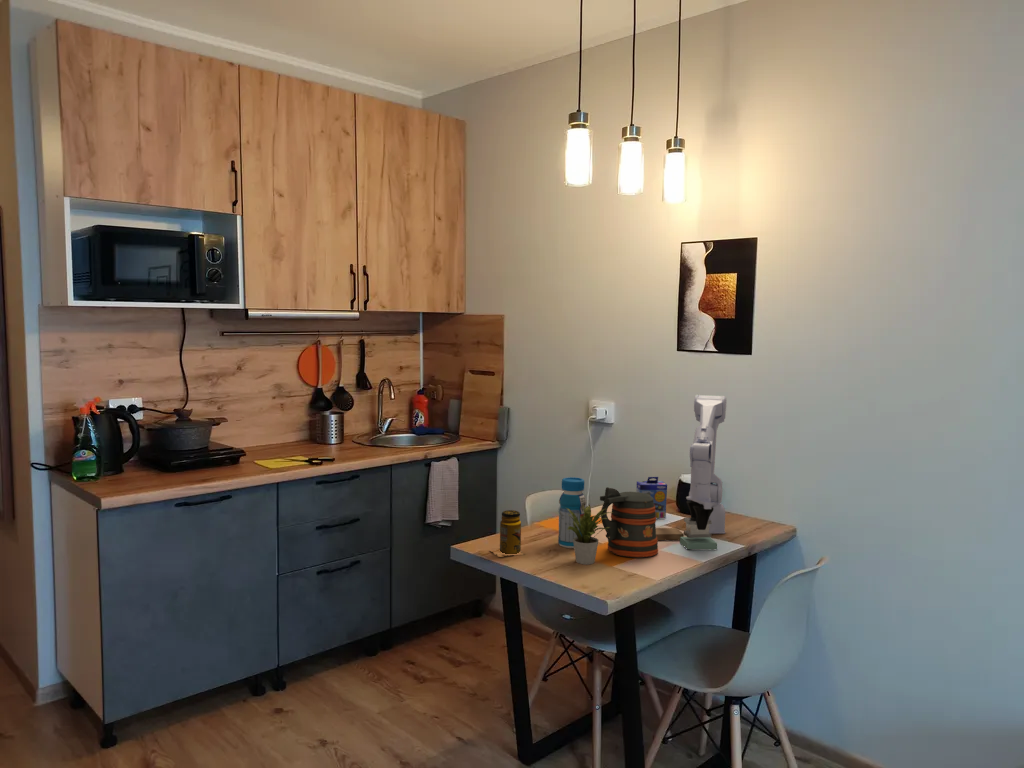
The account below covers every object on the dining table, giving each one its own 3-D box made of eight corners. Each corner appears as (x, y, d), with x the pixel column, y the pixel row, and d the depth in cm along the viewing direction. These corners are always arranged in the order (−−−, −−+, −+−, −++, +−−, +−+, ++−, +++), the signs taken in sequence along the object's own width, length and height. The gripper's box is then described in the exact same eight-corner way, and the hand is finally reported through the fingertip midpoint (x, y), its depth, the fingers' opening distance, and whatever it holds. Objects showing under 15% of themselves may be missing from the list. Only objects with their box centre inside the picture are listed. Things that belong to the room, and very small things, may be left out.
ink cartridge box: (638, 519, 255) (640, 477, 254) (634, 515, 260) (635, 474, 259) (666, 518, 256) (668, 477, 255) (662, 514, 261) (663, 474, 260)
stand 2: (708, 542, 228) (709, 536, 228) (717, 549, 221) (717, 543, 221) (680, 543, 227) (680, 536, 227) (687, 550, 220) (687, 543, 220)
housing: (706, 533, 226) (706, 517, 226) (711, 537, 222) (711, 520, 221) (683, 533, 225) (683, 517, 225) (688, 537, 221) (688, 521, 221)
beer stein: (622, 565, 205) (623, 493, 204) (585, 551, 217) (587, 484, 215) (668, 553, 217) (670, 485, 215) (631, 541, 228) (633, 477, 227)
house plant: (622, 568, 202) (624, 509, 201) (575, 573, 198) (576, 512, 197) (601, 553, 216) (602, 497, 214) (556, 556, 212) (557, 500, 210)
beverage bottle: (563, 550, 218) (564, 482, 217) (553, 541, 226) (555, 477, 225) (590, 548, 221) (591, 481, 219) (579, 540, 229) (581, 475, 227)
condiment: (525, 554, 213) (526, 513, 212) (498, 558, 210) (499, 516, 209) (515, 547, 220) (515, 508, 219) (488, 551, 216) (489, 510, 215)
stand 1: (676, 534, 237) (676, 527, 237) (683, 540, 230) (683, 534, 230) (648, 534, 236) (649, 528, 236) (654, 540, 229) (655, 534, 229)
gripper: (679, 477, 229) (678, 521, 230) (695, 487, 215) (693, 534, 216) (702, 477, 230) (700, 520, 231) (719, 487, 215) (717, 533, 216)
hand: (698, 527), depth 223 cm, fingers closed on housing, 4 cm apart
